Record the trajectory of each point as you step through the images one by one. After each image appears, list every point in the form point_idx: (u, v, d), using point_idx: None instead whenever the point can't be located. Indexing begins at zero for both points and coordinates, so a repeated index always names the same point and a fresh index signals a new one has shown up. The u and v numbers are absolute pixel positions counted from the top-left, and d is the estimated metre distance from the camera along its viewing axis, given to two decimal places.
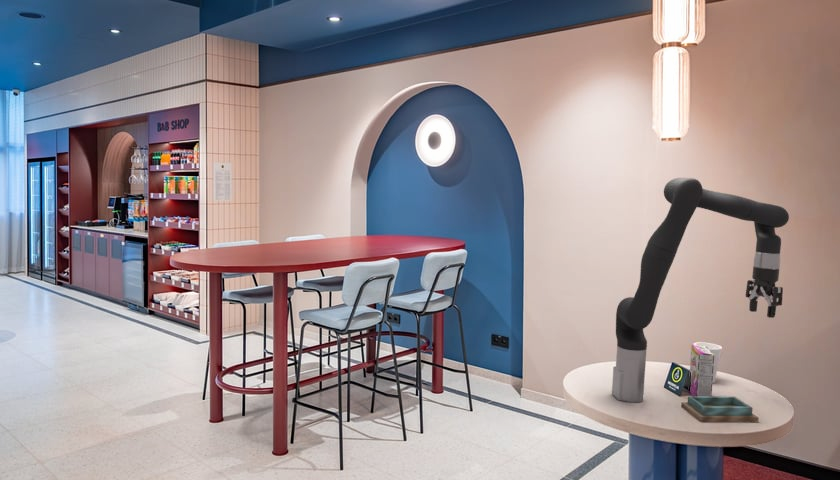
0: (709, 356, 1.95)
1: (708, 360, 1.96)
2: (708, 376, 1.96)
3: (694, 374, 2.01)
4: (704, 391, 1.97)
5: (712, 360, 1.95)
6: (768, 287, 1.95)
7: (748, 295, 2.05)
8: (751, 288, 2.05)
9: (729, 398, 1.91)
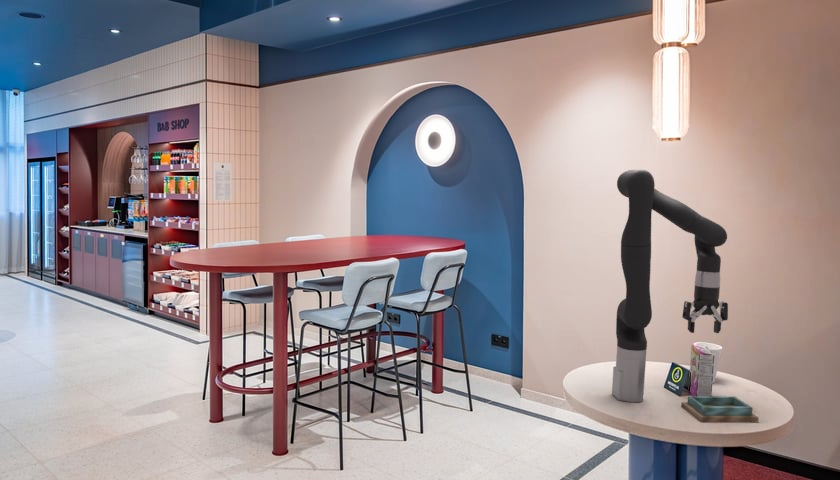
0: (709, 356, 1.95)
1: (708, 360, 1.96)
2: (708, 376, 1.96)
3: (694, 374, 2.01)
4: (704, 391, 1.97)
5: (712, 360, 1.95)
6: (717, 304, 1.98)
7: (689, 317, 1.99)
8: None
9: (729, 398, 1.91)
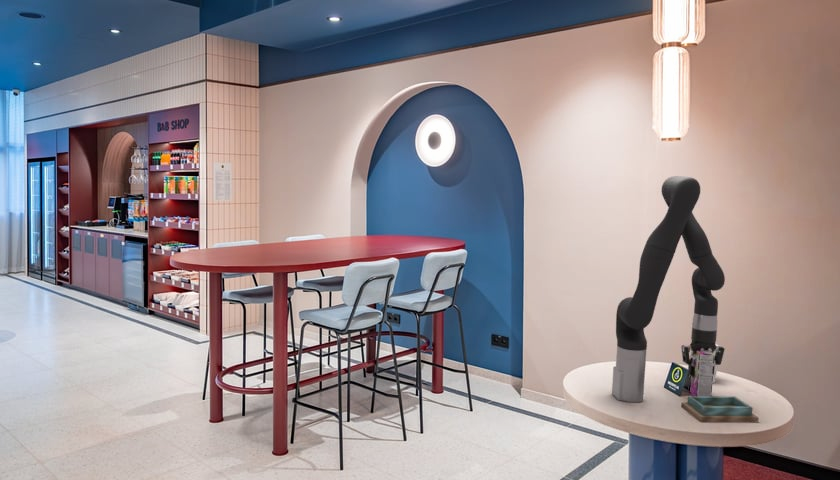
0: (709, 356, 1.95)
1: (708, 360, 1.96)
2: (708, 376, 1.96)
3: None
4: (704, 391, 1.97)
5: (712, 360, 1.95)
6: (714, 347, 2.00)
7: None
8: None
9: (729, 398, 1.91)
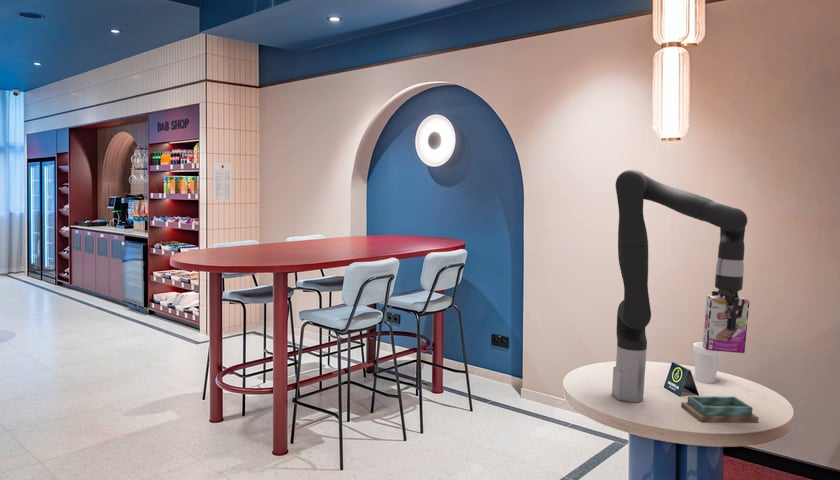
0: None
1: None
2: None
3: None
4: None
5: None
6: None
7: None
8: None
9: (729, 398, 1.91)
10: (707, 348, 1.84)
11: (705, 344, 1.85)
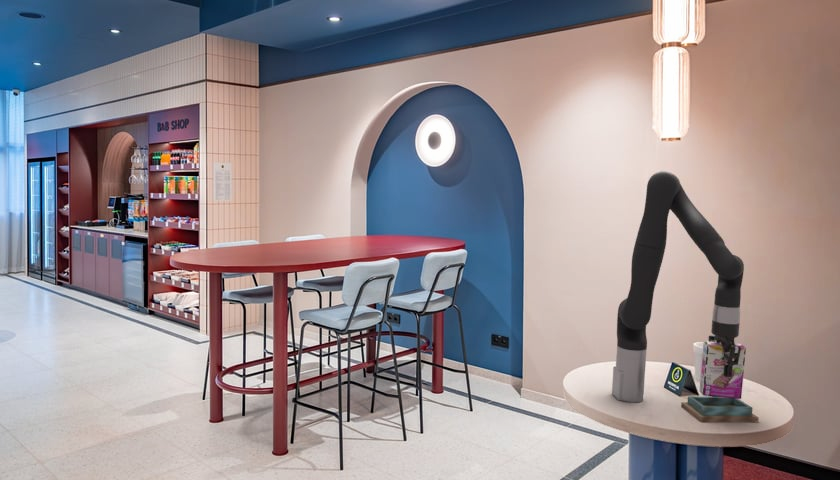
0: None
1: None
2: None
3: None
4: None
5: None
6: None
7: None
8: None
9: (729, 398, 1.91)
10: (704, 394, 1.85)
11: (702, 389, 1.86)
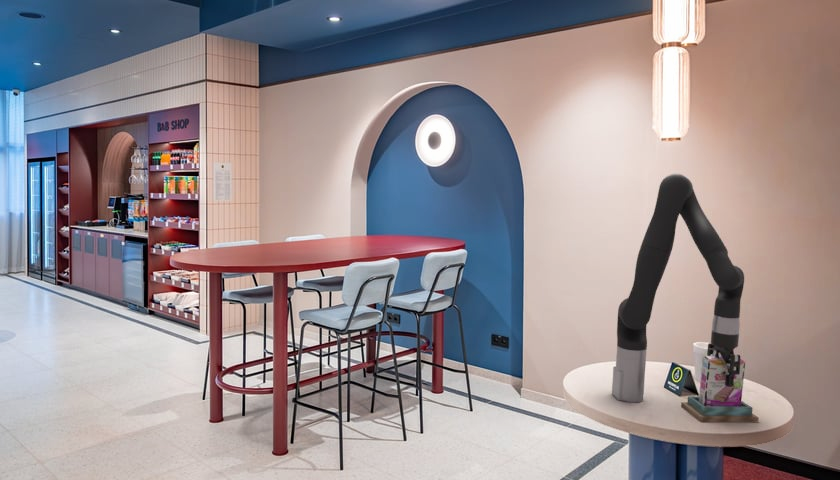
0: None
1: None
2: None
3: (730, 387, 1.84)
4: None
5: None
6: None
7: None
8: None
9: None
10: None
11: (702, 404, 1.86)
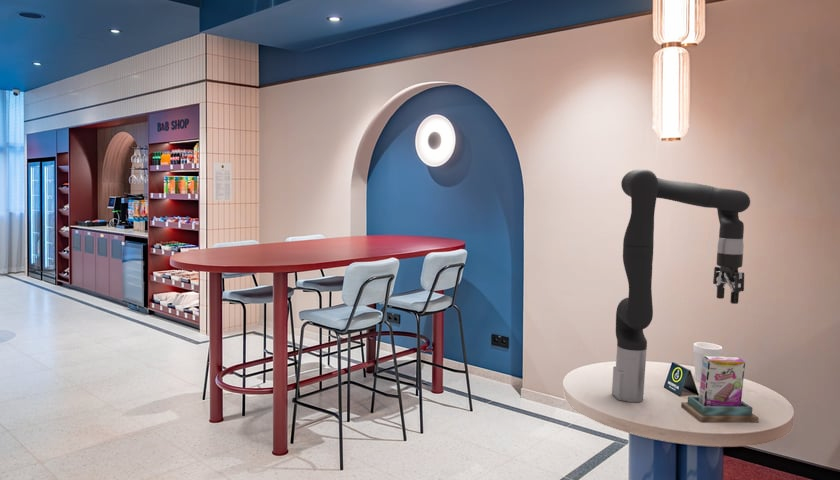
0: None
1: None
2: None
3: (730, 387, 1.84)
4: None
5: None
6: None
7: None
8: None
9: None
10: None
11: (702, 404, 1.86)
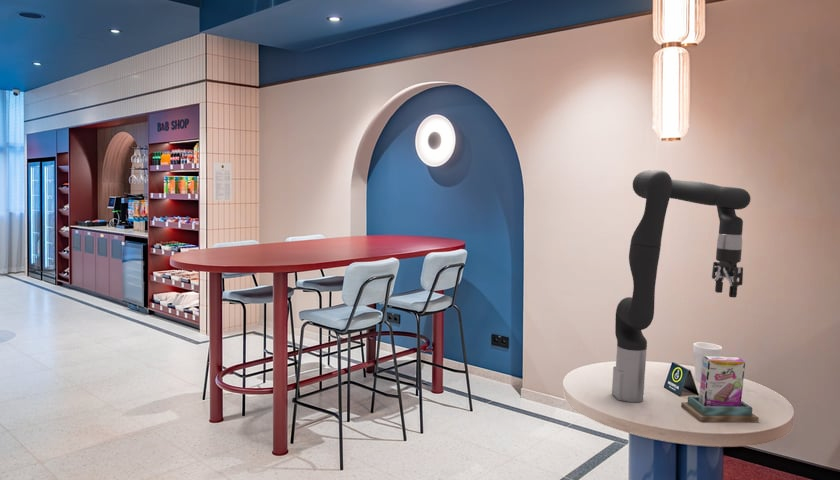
0: None
1: None
2: None
3: (730, 387, 1.84)
4: None
5: None
6: None
7: None
8: None
9: None
10: None
11: (702, 404, 1.86)
